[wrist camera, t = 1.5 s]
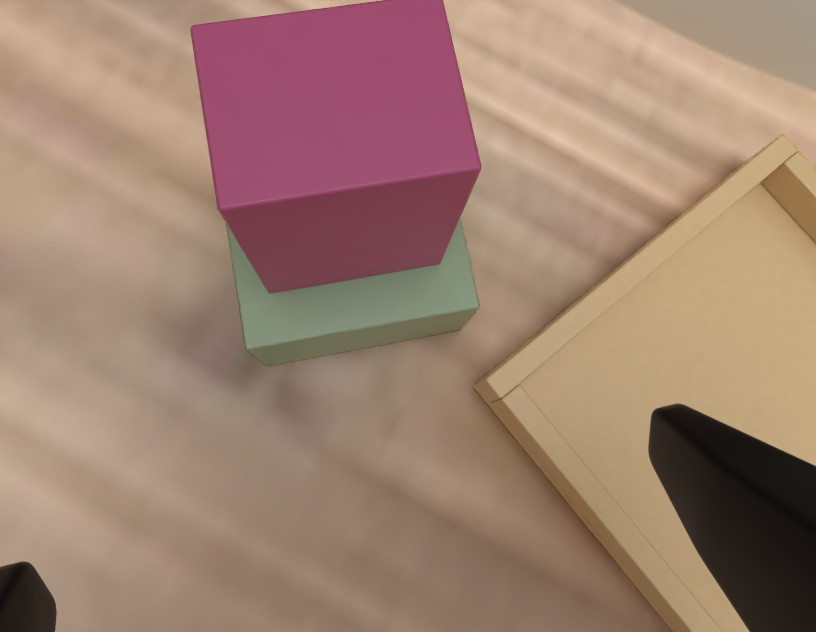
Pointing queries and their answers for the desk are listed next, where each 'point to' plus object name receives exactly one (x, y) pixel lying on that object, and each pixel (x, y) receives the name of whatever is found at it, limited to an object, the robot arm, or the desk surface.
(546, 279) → the desk surface
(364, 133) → the mulberry block
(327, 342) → the sage block
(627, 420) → the tray
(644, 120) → the desk surface
